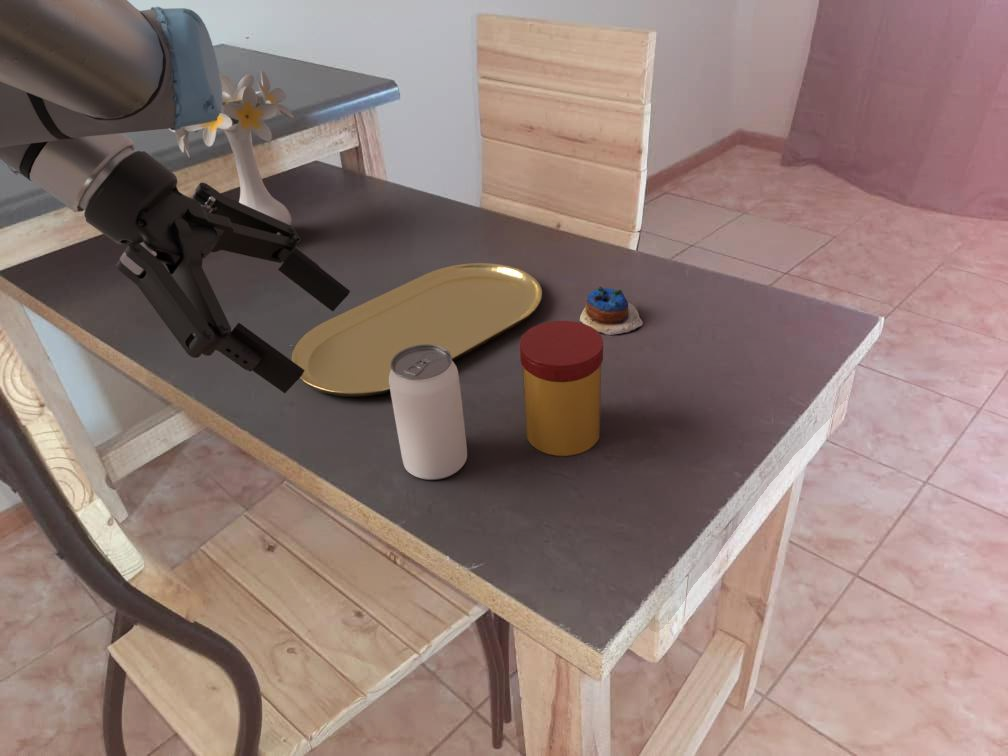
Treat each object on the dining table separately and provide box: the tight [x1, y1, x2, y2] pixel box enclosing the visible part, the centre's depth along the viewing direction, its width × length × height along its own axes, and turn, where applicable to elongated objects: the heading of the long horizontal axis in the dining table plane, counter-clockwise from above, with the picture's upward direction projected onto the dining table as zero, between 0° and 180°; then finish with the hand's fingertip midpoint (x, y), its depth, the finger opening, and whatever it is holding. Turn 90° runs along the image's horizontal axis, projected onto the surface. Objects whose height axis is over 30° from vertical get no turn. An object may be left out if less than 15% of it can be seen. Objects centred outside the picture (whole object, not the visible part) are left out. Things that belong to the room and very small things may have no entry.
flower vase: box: [168, 70, 295, 235], centre depth 116 cm, size 13×18×25 cm
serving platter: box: [290, 262, 543, 398], centre depth 98 cm, size 19×35×2 cm, turn 135°
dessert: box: [579, 286, 644, 336], centre depth 97 cm, size 8×7×6 cm
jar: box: [522, 364, 602, 457], centre depth 77 cm, size 8×8×10 cm
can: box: [389, 344, 468, 481], centre depth 74 cm, size 6×6×12 cm
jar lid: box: [519, 320, 604, 381], centre depth 74 cm, size 8×8×2 cm
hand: (320, 338), depth 71 cm, fingers open, 13 cm apart
